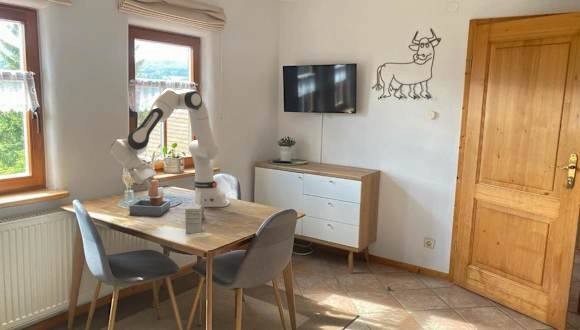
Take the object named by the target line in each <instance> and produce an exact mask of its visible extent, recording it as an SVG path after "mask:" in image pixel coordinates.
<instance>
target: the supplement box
mask: <svg viewBox="0 0 580 330" xmlns="http://www.w3.org/2000/svg"><path fill="white" fill-rule="evenodd" d="M184 209H185V210H184V211H185V213H184V214H185V215H184V217H185V219H184V220H185V221H184V222H185V223H184V224H185V225H184V227H185V234H186V233H200V234H201V232H202V229H203V227H202V226H203V224H202V223H203V221H202V220H203V219H202V205H194V204H187V205H186V207H185V208H184Z"/></svg>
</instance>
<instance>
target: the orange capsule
mask: <svg viewBox="0 0 580 330" xmlns="http://www.w3.org/2000/svg"><path fill="white" fill-rule="evenodd" d="M148 182H150V183H152V184H153V187H152V188H149V187H148V186H147V193H148V194H147V195H148V197H149V198H150V197H157V196H159V180H158V179H155V180H150V179H149V180H148Z"/></svg>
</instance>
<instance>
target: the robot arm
mask: <svg viewBox="0 0 580 330" xmlns="http://www.w3.org/2000/svg"><path fill="white" fill-rule="evenodd" d="M175 110H187V111H188V113H189V114H188V115H189V122H190V128H191V132H192V134H193V136H194V137H195V140H192V141H191V142H190V143H189V145H188V152H189V153H190V154H191V158H192V161H193V165H194V166H193V167H194V175H195V176H194V186H193V188H194V197H193V201H192V205H195V204H201V205H203V206H204V208H208V207H209V208H224V207H227V206H229V205H230V204H231V203H230V200H229V199H227V197H226V196H227V195H226V192H224V191H223V190H221V189H220V188H219V187H217V186H218V181H216V180H214V166H213V165H212V162H211V161H212V160H216V159H217V158H219V157H220V155H221V147H220V146H219V145H218V143H217V142H216V139H215V137H214V136H213V135H214V134H213V132H212V129H211V124H210V118H209V112H208V109H207V104H206V103H205V101H204V100H203V99H202V95H201V94H200V92H198V91H197V90H195V89H181V90H174V89H172V88H166V89H165V90H163V91H162V92H161V93H160V94H159V95H158V96H157V98H156V99H155V101H154V102H153V103H152V105H151V107H150V109H149V111H148V115H147V116H146V117H145V119H144V120H143V121H142V123H141V124H140V125H139V126H138V127H136V128H135V129H133V130H132V131H130V132H129V133H128V135H127V138H124V139H116V140H115V141H114V142H113V143H112V144H111V146H110V149H109V152H110V155H112V157H113V158H114V159H115V160H116V161H117V162H118V163H119V164H121V165H122V167H123V168H124V169H125V170H126V171H127V172H128V173H129V177H130V179H132V181H134V183H135V184H136V185H138V186H139V185H141V184H144V185H145V186H147V188H148V187H149V188H152V187H153V184H152V183H150V182H148V181H149V180H156V178H155V177H156V175H157V171H155V169H154V168H153V167H152V166H151V165H150V164H149V163H148V161H147V160H146V159H143V158H140V157H139V156H141V155H142V154H144V153H145V151H146V150H147V146H148V144H149V141H150V135H151V133H152V132H153V130H154V129H155V127H156V126H157V125H158V124H159V123H165V122H166V121H167V120H169V118H170V117H171V115H173V113H174V111H175Z"/></svg>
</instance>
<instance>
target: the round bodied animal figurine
mask: <svg viewBox="0 0 580 330" xmlns="http://www.w3.org/2000/svg"><path fill="white" fill-rule="evenodd" d="M195 205H201V204H195ZM205 208H206V207H204V206H203V205H202V220H205V219H206V214H205V212H206V209H205Z"/></svg>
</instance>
